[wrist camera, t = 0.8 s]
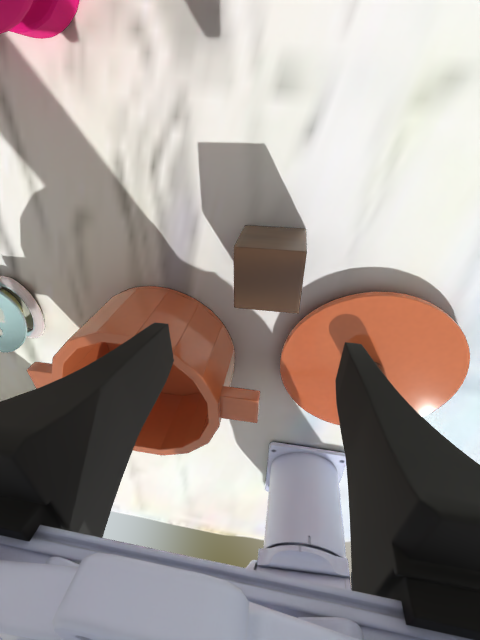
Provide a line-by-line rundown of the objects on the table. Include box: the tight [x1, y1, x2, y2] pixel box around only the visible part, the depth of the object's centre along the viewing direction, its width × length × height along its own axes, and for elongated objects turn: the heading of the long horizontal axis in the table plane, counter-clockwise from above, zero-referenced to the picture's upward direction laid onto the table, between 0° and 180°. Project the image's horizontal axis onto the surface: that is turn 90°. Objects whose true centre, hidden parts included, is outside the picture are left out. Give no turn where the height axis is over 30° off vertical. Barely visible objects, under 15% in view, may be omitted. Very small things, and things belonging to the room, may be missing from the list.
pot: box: [27, 286, 260, 455], centre depth 25 cm, size 13×18×6 cm
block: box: [234, 225, 307, 314], centre depth 20 cm, size 4×4×4 cm
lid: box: [280, 292, 470, 425], centre depth 23 cm, size 14×14×5 cm
